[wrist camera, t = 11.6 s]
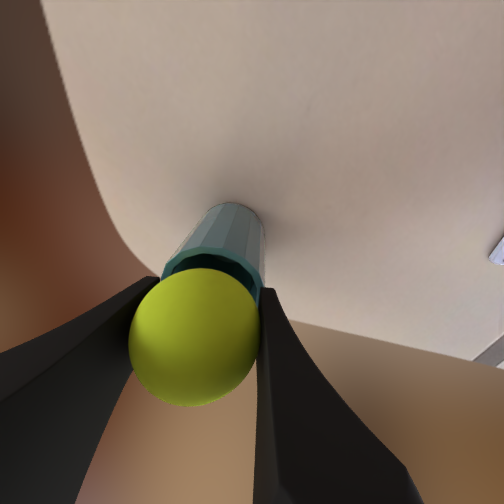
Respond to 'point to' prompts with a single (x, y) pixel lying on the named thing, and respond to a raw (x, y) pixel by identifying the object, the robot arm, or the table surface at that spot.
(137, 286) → the robot arm
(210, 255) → the tumbler
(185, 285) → the ball
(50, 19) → the table surface
